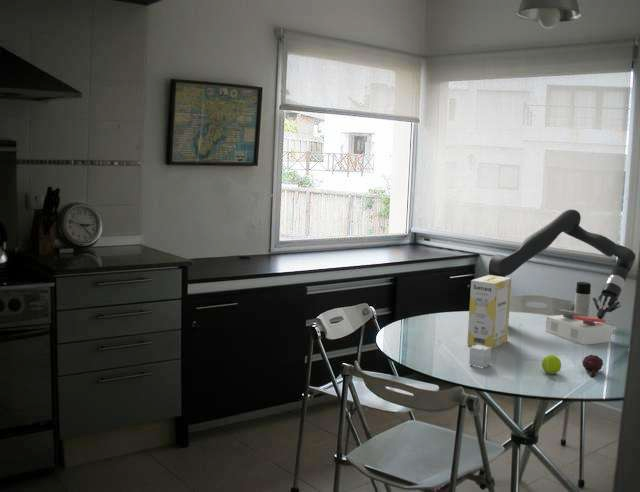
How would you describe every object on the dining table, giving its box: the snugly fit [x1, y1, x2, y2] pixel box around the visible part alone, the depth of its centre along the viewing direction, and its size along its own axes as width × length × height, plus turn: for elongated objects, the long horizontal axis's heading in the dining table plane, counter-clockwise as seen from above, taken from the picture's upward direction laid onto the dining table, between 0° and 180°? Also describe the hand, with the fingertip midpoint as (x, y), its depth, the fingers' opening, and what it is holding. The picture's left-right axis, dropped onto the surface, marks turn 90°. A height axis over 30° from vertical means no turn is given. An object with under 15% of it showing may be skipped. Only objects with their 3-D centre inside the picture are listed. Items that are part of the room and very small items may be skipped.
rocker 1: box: [553, 307, 585, 316], centre depth 331 cm, size 14×5×2 cm, turn 114°
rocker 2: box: [573, 315, 606, 324], centre depth 320 cm, size 14×5×2 cm, turn 114°
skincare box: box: [468, 344, 492, 368], centre depth 278 cm, size 6×6×7 cm
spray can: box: [573, 281, 592, 317], centre depth 351 cm, size 7×7×20 cm
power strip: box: [545, 313, 614, 346], centre depth 326 cm, size 16×24×8 cm
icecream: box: [582, 354, 604, 378], centre depth 274 cm, size 7×7×15 cm
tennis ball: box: [541, 354, 562, 375], centre depth 271 cm, size 7×7×7 cm
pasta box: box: [466, 274, 512, 350], centre depth 309 cm, size 18×10×28 cm, turn 144°
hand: (599, 317), depth 322 cm, fingers closed
